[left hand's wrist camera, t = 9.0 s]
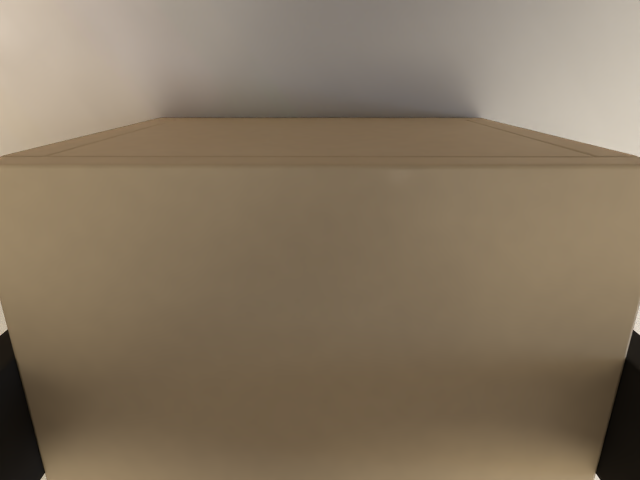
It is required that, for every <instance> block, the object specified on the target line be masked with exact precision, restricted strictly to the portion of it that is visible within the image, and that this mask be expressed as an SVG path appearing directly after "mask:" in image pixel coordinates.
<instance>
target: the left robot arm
mask: <svg viewBox="0 0 640 480" xmlns="http://www.w3.org/2000/svg"><path fill="white" fill-rule="evenodd" d="M44 473H45V470H44V466H43V462H42V459H41V455H40V451H39V447H38V443H37V439H36V435H35V432H34V428H33V424H32V420H31V416H30V412H29V408H28V405H27V401H26V397H25V393H24V389H23V385H22V381H21V378H20V374H19V370H18V366H17V362H16V358H15V354H14V351H13V347H12V343H11V339H10V335H9V331H8V330H7V331H5V332H4V333H3V334H2V335H1V336H0V480H40V479H41V478H42V476H43V475H44ZM596 474H597V475H598V477H599V478H600V480H640V335H639V334H638V333H636V332H635V331H634V330H633V332H632V336H631V340H630V343H629V347H628V351H627V355H626V359H625V363H624V366H623V370H622V374H621V378H620V382H619V386H618V389H617V393H616V397H615V401H614V405H613V409H612V412H611V416H610V420H609V424H608V428H607V432H606V435H605V439H604V443H603V447H602V451H601V455H600V458H599V462H598V466H597V470H596Z"/></svg>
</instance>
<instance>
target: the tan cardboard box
mask: <svg viewBox="0 0 640 480" xmlns="http://www.w3.org/2000/svg"><path fill="white" fill-rule="evenodd" d="M0 300H1V304H2V308H3V312H4V316H5V320H6V324H7V327H8V331H9V335H10V339H11V343H12V347H13V351H14V354H15V358H16V362H17V366H18V370H19V374H20V378H21V381H22V385H23V389H24V393H25V397H26V401H27V405H28V408H29V412H30V416H31V420H32V424H33V428H34V432H35V435H36V439H37V443H38V447H39V451H40V455H41V459H42V462H43V466H44V470H45V474H46V478H47V480H594V478H595V474H596V470H597V466H598V462H599V458H600V455H601V451H602V447H603V443H604V439H605V435H606V432H607V428H608V424H609V420H610V416H611V412H612V409H613V405H614V401H615V397H616V393H617V389H618V386H619V382H620V378H621V374H622V370H623V366H624V363H625V359H626V355H627V351H628V347H629V343H630V340H631V336H632V332H633V328H634V324H635V320H636V317H637V313H638V309H639V305H640V157H637V156H635V155H631V154H627V153H622V152H618V151H614V150H610V149H606V148H602V147H598V146H594V145H590V144H586V143H581V142H577V141H573V140H569V139H565V138H561V137H557V136H553V135H549V134H545V133H540V132H536V131H532V130H528V129H524V128H520V127H516V126H512V125H508V124H503V123H499V122H495V121H491V120H487V119H483V118H157V119H154V120H149V121H144V122H140V123H136V124H132V125H128V126H124V127H120V128H115V129H111V130H107V131H103V132H99V133H95V134H91V135H86V136H82V137H78V138H74V139H70V140H66V141H62V142H57V143H53V144H49V145H45V146H41V147H37V148H33V149H28V150H24V151H20V152H16V153H12V154H8V155H4V156H1V157H0Z"/></svg>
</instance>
